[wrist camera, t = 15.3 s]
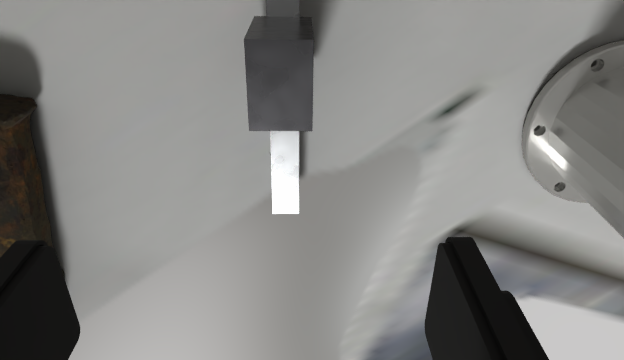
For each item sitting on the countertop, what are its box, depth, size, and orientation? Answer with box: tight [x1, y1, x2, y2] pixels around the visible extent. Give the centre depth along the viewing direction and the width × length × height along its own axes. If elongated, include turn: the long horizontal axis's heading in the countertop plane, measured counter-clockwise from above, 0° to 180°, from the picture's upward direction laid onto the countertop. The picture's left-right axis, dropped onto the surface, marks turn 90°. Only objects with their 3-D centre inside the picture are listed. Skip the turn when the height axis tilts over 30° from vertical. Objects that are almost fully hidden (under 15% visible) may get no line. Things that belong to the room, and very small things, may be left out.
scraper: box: [244, 0, 314, 214], centre depth 28 cm, size 4×24×8 cm, turn 179°
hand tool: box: [0, 94, 64, 276], centre depth 36 cm, size 23×5×6 cm, turn 172°
